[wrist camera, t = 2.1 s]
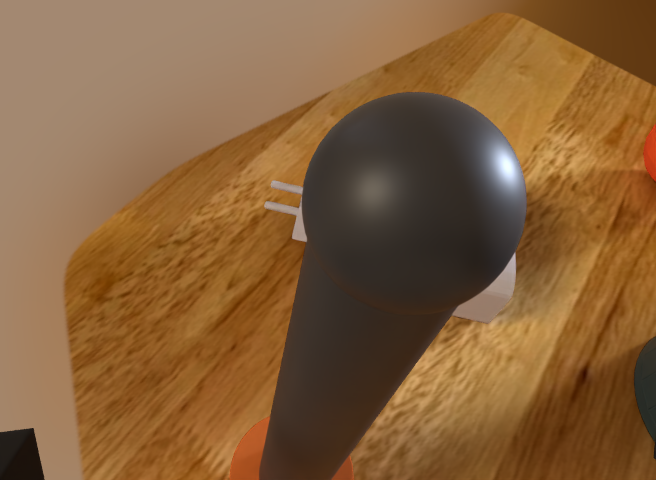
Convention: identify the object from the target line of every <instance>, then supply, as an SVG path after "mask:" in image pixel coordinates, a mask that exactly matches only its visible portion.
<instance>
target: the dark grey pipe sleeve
mask: <svg viewBox="0 0 656 480" xmlns="http://www.w3.org/2000/svg"><path fill="white" fill-rule="evenodd" d="M634 385H635V395H636V399H637V403H638V407H639V410H640V413H641V416H642V419H643V421H644V423H645V425H646V427H647V429H648V432H649V433H650V435H651V437H652V438H653V440H654V442H655V437H656V336H655V337H654V338H653V339H651V340H650V341H649V342H648V343H647V344H646V345H645V346H644V348H643V350H642V351H641V353H640V355H639V358H638V360H637V363H636V368H635V377H634Z"/></svg>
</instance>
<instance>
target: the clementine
mask: <svg viewBox="0 0 656 480" xmlns="http://www.w3.org/2000/svg"><path fill="white" fill-rule="evenodd" d="M643 155H644V162H645V166H646V169H647V171H648V173H649V174H650V176H651V177H652V178H653V179H654V180H655V182H656V124H655V125H654V127H653V128H652V130H651V131H650V133H649V135H648V136H647V138H646V142H645V146H644V152H643Z"/></svg>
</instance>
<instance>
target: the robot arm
mask: <svg viewBox="0 0 656 480" xmlns="http://www.w3.org/2000/svg"><path fill="white" fill-rule="evenodd" d="M654 459H656V437H655V448H654ZM0 480H44V475H43V470H42V466H41V461H40V457H39V453H38V447H37V442H36V438H35V434H34V429H33V428H30V429H23V430H14V431H7V432H0Z"/></svg>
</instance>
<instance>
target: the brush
mask: <svg viewBox="0 0 656 480" xmlns="http://www.w3.org/2000/svg"><path fill="white" fill-rule="evenodd" d="M526 209H527V198H526V187H525V180H524V177H523V173H522V170H521V166H520V163H519V161H518V159H517V156H516V154H515V152H514V151H513V149H512V147H511V145H510V144H509V142H508V140H507V139H506V137H505V136H504V135H503V134H502V132H501V131H500V130H499V129H498V128H497V127H496V126H495V125H494V124H493V123H492V122H491V121H490V120H489V119H488V118H486V117H485V116H484V115H483V114H481V113H480V112H478V111H477V110H476V109H474V108H472V107H470V106H469V105H467V104H465V103H463V102H460V101H458V100H456V99H453V98H450V97H447V96H443V95H439V94H433V93H424V92H406V93H397V94H392V95H388V96H384V97H381V98H378V99H375V100H372V101H370V102H368V103H366V104H364V105H362V106H360V107H358V108H356V109H355V110H353V111H352V112H350V113H349V114H347V115H346V116H345V117H344V118H343V119H341V120H340V121H339V122H338V123H337V124H336V125H335V126H334V127H333V128H332V129H331V130H330V131H329V132H328V134H327V135H326V136H325V138H324V139H323V140H322V141H321V143H320V144H319V146H318V148H317V150H316V151H315V153H314V155H313V157H312V159H311V161H310V164H309V167H308V170H307V173H306V176H305V180H304V185H303V191H302V217H303V224H304V229H305V234H306V237H307V242H306V246H305V251H304V256H303V261H302V266H301V271H300V275H299V280H298V285H297V290H296V295H295V300H294V304H293V309H292V314H291V319H290V324H289V328H288V333H287V338H286V343H285V348H284V353H283V357H282V362H281V367H280V372H279V377H278V381H277V386H276V391H275V396H274V401H273V406H272V410H271V415H270V417H267V418H265V419H263V420H262V421H260V422H258V423H257V424H256V425H254V426H253V427H252V428H251V429H250V430H249V431H248V432H247V433H246V434H245V436H244V437H243V438H242V440H241V441H240V443H239V445H238V446H237V449H236V451H235V453H234V456H233V459H232V463H231V468H230V480H353V479H354V476H353V466H352V461H351V457H350V453H351V452H352V451H353V449H354V448H355V447H356V445H357V444H358V442H359V441H360V440H361V438H362V437H363V436H364V434H365V433H366V431H367V430H368V429H369V427H370V426H371V425H372V423H373V422H374V421H375V419H376V418H377V416H378V415H379V414H380V412H381V411H382V410H383V408H384V407H385V405H386V404H387V403H388V401H389V400H390V399H391V397H392V396H393V395H394V393H395V392H396V390H397V389H398V388H399V386H400V385H401V384H402V382H403V381H404V379H405V378H406V377H407V375H408V374H409V373H410V371H411V370H412V369H413V367H414V366H415V364H416V363H417V362H418V360H419V359H420V358H421V356H422V355H423V353H424V352H425V351H426V349H427V348H428V347H429V345H430V344H431V343H432V341H433V340H434V338H435V337H436V336H437V334H438V333H439V332H440V330H441V329H442V327H443V326H444V325H445V323H446V322H447V321H448V319H449V318H450V316H451V315H452V314H453V312H454V311H455V310H456V308H457V307H458V306H459V305H461V304H463V303H465V302H467V301H469V300H470V299H472V298H474V297H475V296H477V295H478V294H480V293H481V292H482V291H484V290H485V289H486V288H487V287H489V286H490V285H491V284H492V283H493V282H494V281H495V280H496V279H497V277H498V276H499V275H500V274H501V273H502V272H503V271H504V269H505V268H506V266H507V265H508V263H509V261H510V260H511V258H512V256H513V255H514V253H515V251H516V249H517V246H518V244H519V241H520V238H521V236H522V233H523V229H524V223H525V218H526Z"/></svg>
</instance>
